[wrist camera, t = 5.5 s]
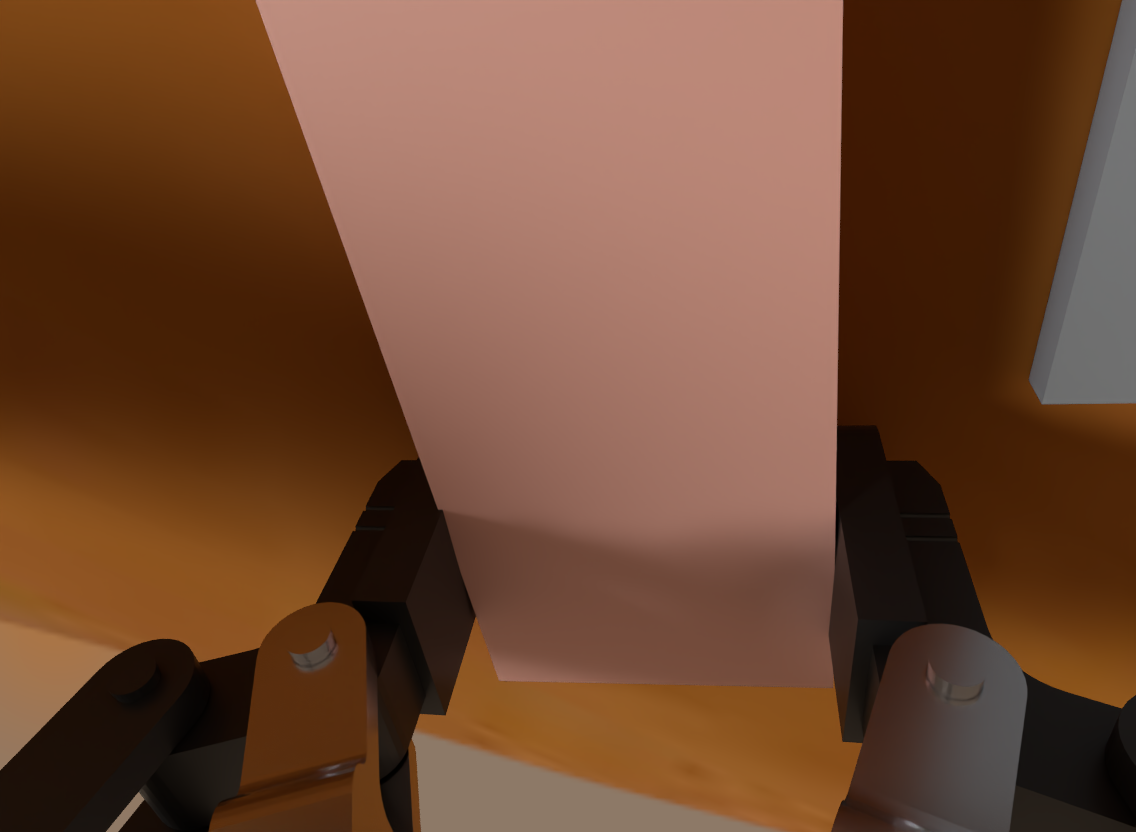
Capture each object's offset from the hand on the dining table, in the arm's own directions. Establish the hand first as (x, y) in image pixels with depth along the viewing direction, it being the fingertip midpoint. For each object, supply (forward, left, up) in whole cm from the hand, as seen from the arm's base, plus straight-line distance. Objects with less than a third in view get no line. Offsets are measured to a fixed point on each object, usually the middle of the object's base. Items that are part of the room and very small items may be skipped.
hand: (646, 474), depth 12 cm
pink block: (-5, 0, -1) cm, 5 cm away
